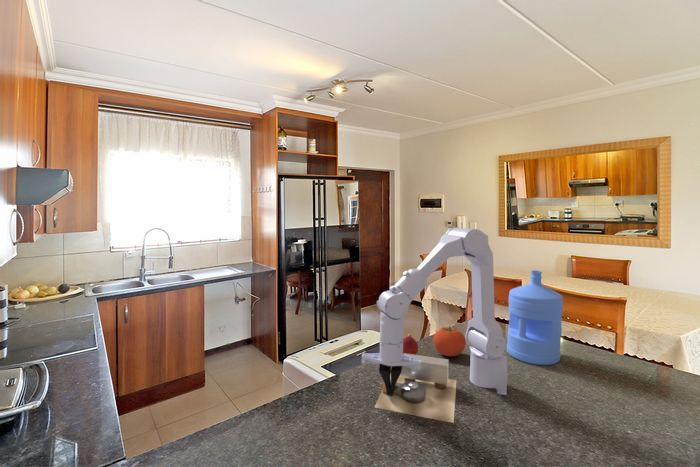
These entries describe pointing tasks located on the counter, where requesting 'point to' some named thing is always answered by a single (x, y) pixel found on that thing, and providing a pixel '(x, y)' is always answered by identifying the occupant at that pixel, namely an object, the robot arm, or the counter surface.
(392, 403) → the wooden board
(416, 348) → the onion
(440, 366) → the grey long rectangular block
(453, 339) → the tomato
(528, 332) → the water jug
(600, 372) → the counter surface
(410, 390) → the grey lidded pan
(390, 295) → the robot arm
